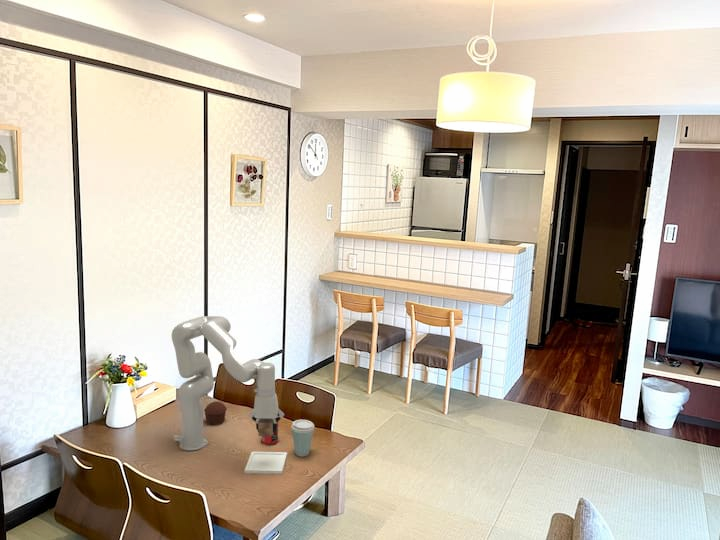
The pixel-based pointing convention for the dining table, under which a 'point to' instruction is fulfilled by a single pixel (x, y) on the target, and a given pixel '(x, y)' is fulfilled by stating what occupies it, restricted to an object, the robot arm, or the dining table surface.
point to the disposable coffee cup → (302, 436)
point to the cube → (265, 427)
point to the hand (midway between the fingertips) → (266, 430)
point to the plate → (266, 462)
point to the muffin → (215, 413)
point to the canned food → (270, 438)
